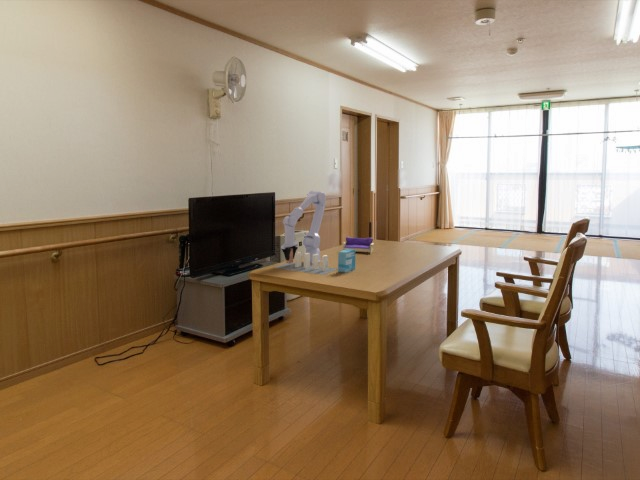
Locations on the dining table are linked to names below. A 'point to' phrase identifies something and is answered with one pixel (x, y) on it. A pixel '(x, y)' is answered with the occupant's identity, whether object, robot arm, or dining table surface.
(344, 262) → the data package
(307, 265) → the tile
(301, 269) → the mat
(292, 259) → the tile
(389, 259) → the dining table surface
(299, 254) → the beige rectangular block
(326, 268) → the tile
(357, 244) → the toy sofa
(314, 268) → the tile
